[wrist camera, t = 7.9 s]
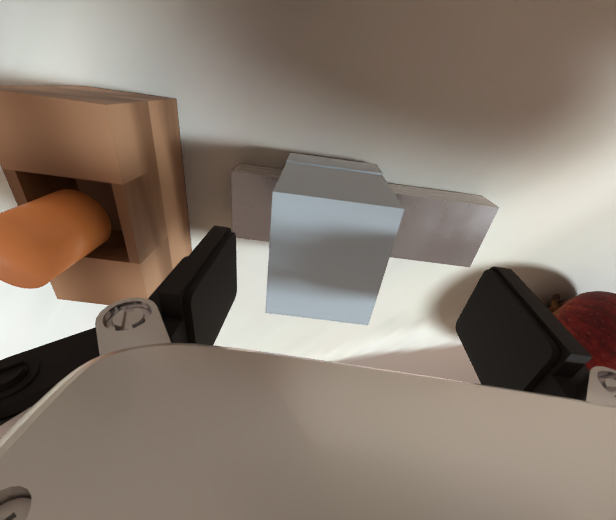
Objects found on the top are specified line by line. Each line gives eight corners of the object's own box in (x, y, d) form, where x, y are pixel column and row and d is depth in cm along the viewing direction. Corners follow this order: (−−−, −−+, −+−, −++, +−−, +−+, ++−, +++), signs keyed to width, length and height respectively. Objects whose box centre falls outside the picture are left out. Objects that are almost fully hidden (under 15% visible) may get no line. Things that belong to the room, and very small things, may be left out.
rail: (482, 195, 18) (499, 207, 16) (456, 251, 20) (469, 267, 18) (240, 163, 17) (230, 171, 16) (240, 223, 19) (232, 236, 18)
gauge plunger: (103, 193, 13) (35, 226, 10) (117, 248, 14) (62, 292, 11) (38, 185, 13) (-51, 215, 10) (59, 241, 14) (-12, 283, 11)
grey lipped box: (376, 164, 17) (405, 206, 11) (354, 256, 20) (367, 326, 14) (290, 152, 16) (272, 188, 11) (282, 246, 20) (265, 314, 14)
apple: (495, 351, 25) (562, 453, 18) (502, 279, 21) (590, 373, 14) (593, 338, 23) (705, 442, 17) (619, 259, 20) (778, 351, 13)
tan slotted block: (176, 98, 16) (105, 104, 11) (192, 255, 21) (149, 309, 16) (83, 86, 16) (-33, 85, 10) (122, 246, 21) (57, 298, 16)
